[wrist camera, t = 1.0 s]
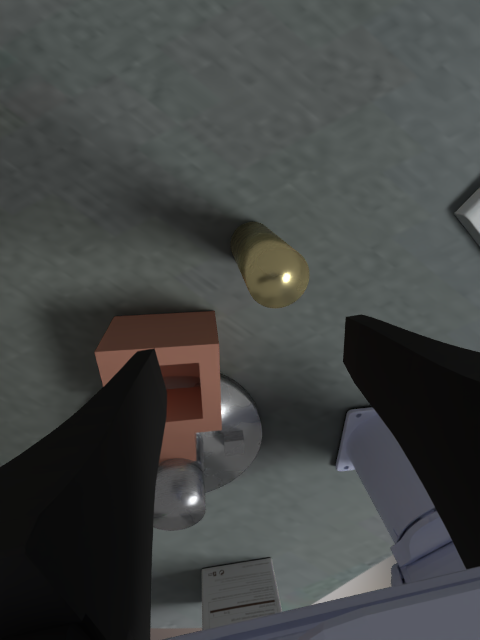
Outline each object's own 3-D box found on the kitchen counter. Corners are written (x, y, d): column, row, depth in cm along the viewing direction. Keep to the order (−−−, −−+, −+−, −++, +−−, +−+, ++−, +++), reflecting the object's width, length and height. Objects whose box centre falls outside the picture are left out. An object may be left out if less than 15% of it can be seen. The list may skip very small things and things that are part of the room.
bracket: (214, 310, 21) (218, 343, 17) (218, 415, 26) (223, 461, 22) (114, 316, 20) (94, 352, 16) (136, 423, 25) (125, 472, 21)
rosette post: (262, 359, 24) (285, 424, 17) (257, 476, 30) (273, 553, 24) (74, 373, 22) (28, 450, 16) (111, 494, 28) (88, 582, 22)
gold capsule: (274, 221, 19) (312, 246, 13) (271, 264, 20) (305, 306, 14) (230, 222, 19) (247, 248, 12) (230, 266, 20) (247, 309, 14)
